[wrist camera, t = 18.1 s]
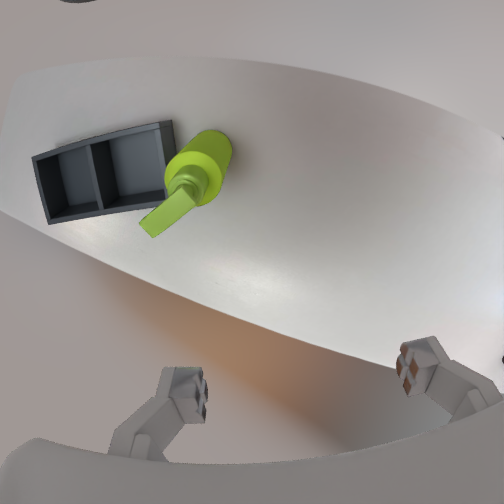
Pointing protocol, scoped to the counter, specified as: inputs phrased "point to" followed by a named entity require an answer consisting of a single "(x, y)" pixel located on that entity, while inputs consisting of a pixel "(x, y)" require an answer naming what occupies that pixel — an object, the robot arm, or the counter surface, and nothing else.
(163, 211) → the soap dispenser
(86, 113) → the counter surface
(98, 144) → the storage box
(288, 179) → the counter surface
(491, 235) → the counter surface
